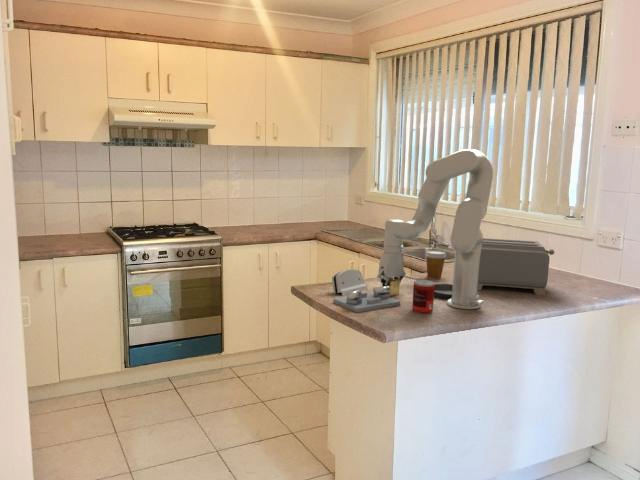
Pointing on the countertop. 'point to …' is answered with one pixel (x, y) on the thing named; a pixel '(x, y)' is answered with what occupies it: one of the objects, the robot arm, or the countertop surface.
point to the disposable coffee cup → (435, 263)
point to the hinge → (348, 282)
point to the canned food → (423, 296)
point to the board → (367, 303)
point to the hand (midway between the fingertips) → (390, 292)
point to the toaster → (514, 264)
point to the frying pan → (441, 290)
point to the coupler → (393, 286)
